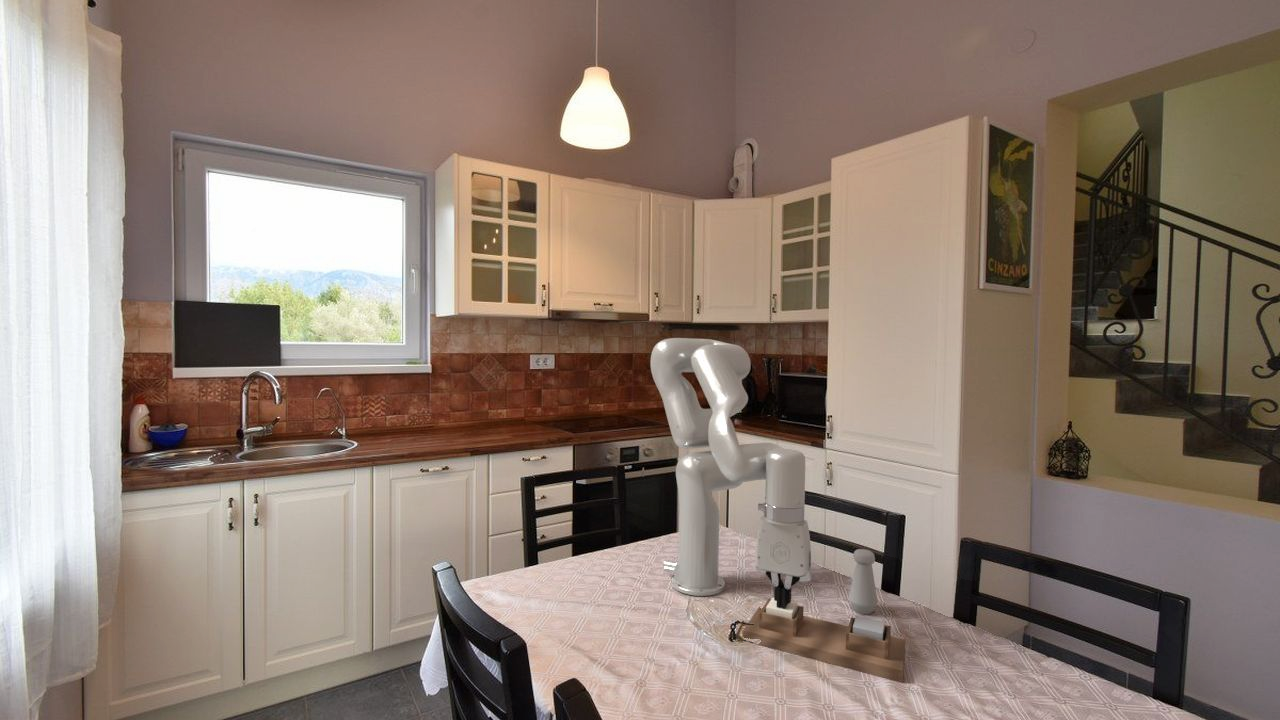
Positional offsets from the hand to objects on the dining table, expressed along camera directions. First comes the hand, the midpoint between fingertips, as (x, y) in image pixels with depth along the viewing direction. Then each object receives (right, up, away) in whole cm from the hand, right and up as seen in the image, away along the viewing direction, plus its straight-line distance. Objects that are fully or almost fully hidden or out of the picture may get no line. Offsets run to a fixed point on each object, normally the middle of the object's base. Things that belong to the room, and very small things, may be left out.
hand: (782, 605), depth 112 cm
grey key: (+14, -3, -7) cm, 16 cm away
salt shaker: (+20, -6, +12) cm, 24 cm away
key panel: (+7, -6, -3) cm, 10 cm away
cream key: (0, -2, 0) cm, 2 cm away
